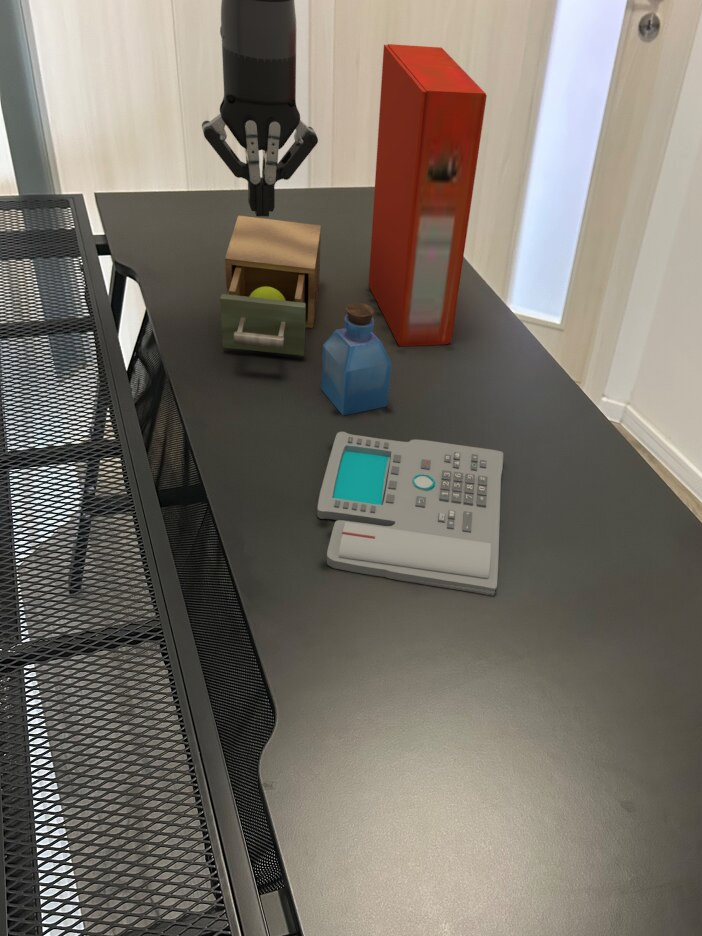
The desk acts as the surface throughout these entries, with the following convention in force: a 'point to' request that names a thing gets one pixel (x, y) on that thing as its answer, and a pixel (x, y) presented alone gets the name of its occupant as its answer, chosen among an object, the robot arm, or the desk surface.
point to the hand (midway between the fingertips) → (261, 213)
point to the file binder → (423, 190)
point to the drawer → (265, 312)
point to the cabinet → (277, 252)
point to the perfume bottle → (356, 364)
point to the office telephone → (414, 511)
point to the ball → (267, 293)
